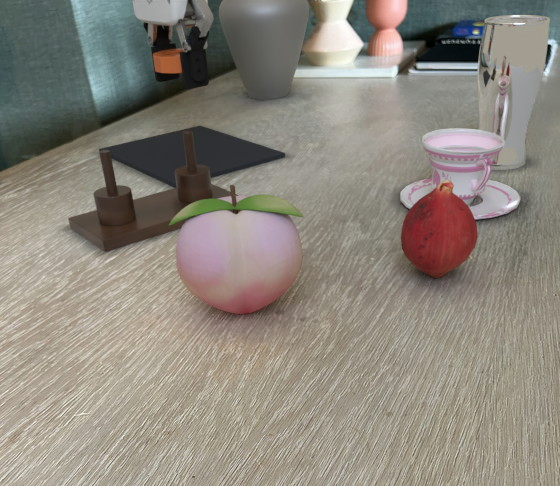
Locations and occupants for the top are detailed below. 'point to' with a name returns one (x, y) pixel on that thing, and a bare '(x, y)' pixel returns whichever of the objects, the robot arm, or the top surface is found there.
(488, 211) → the teacup
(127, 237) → the rack
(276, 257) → the decorative fruit
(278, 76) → the vase
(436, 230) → the pomegranate
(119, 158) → the mat
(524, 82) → the beer glass
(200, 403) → the top surface
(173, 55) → the disc
